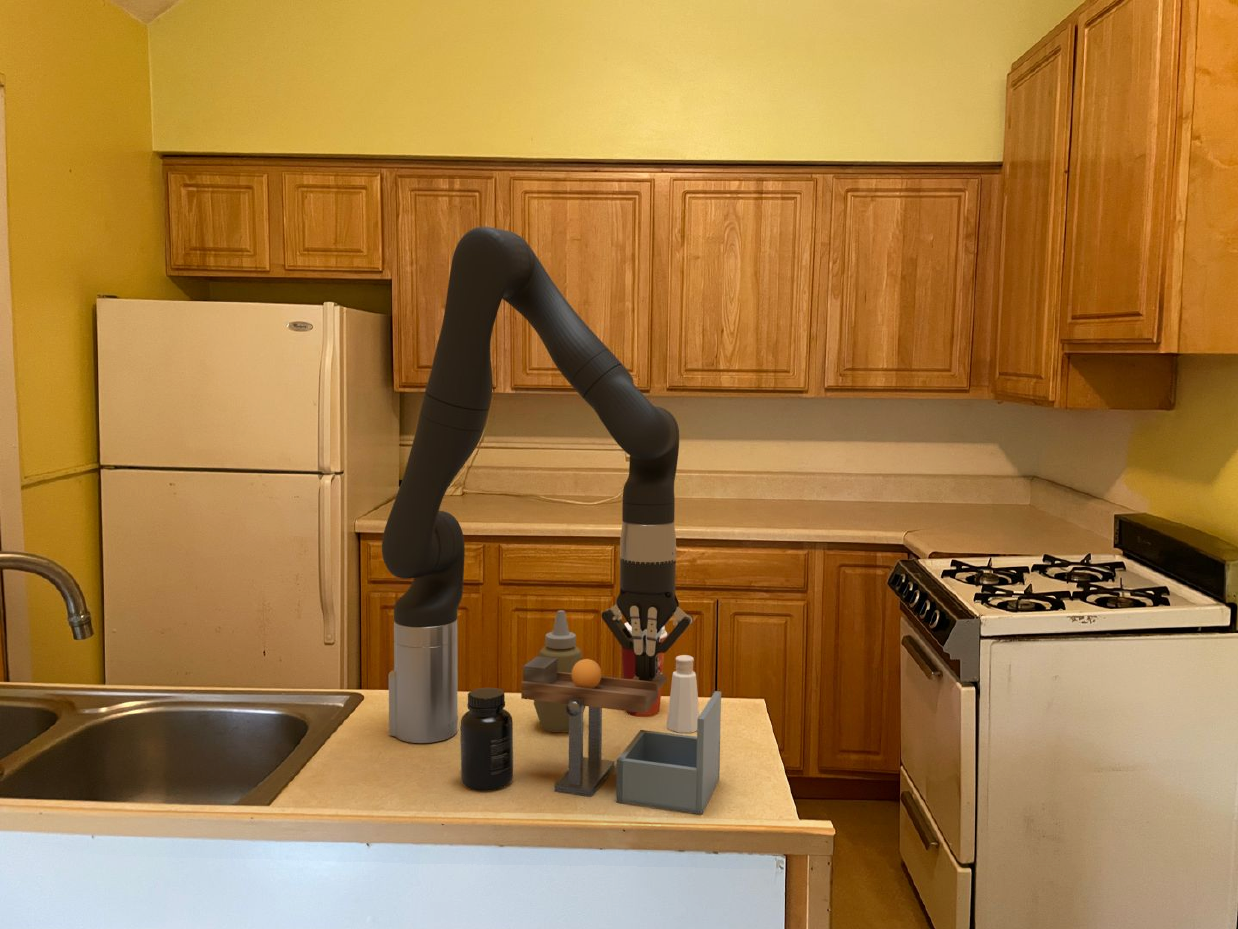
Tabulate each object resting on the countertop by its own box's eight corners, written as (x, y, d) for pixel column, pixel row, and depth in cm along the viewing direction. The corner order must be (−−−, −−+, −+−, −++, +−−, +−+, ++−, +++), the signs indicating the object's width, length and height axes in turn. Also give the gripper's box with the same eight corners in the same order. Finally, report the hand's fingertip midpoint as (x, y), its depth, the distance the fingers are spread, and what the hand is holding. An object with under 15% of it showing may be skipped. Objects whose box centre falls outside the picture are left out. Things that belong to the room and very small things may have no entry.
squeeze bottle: (522, 727, 145) (523, 611, 143) (559, 713, 151) (560, 602, 149) (560, 740, 139) (561, 620, 138) (597, 726, 145) (598, 611, 144)
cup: (616, 802, 119) (617, 709, 118) (640, 768, 129) (641, 683, 128) (701, 815, 116) (703, 719, 115) (719, 779, 126) (721, 691, 125)
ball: (566, 692, 123) (567, 662, 123) (577, 683, 127) (577, 654, 127) (595, 695, 122) (596, 665, 122) (605, 686, 126) (605, 657, 126)
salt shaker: (660, 730, 144) (661, 659, 143) (672, 719, 149) (673, 650, 148) (694, 735, 142) (696, 664, 141) (705, 724, 147) (707, 654, 146)
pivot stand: (553, 792, 122) (554, 700, 121) (580, 761, 131) (581, 676, 130) (590, 797, 120) (591, 704, 119) (614, 766, 130) (616, 680, 129)
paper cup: (661, 721, 148) (663, 633, 147) (613, 717, 149) (615, 630, 148) (669, 704, 156) (670, 621, 154) (623, 701, 157) (624, 618, 156)
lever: (521, 698, 124) (521, 667, 124) (555, 671, 136) (555, 642, 136) (645, 713, 119) (646, 680, 119) (669, 683, 131) (670, 654, 131)
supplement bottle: (511, 769, 128) (511, 683, 127) (514, 791, 122) (515, 700, 121) (460, 772, 127) (460, 685, 126) (460, 794, 121) (460, 702, 120)
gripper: (592, 556, 126) (591, 683, 127) (689, 562, 122) (687, 694, 123) (609, 547, 133) (608, 668, 134) (701, 553, 129) (699, 677, 130)
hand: (646, 680), depth 129 cm, fingers closed
